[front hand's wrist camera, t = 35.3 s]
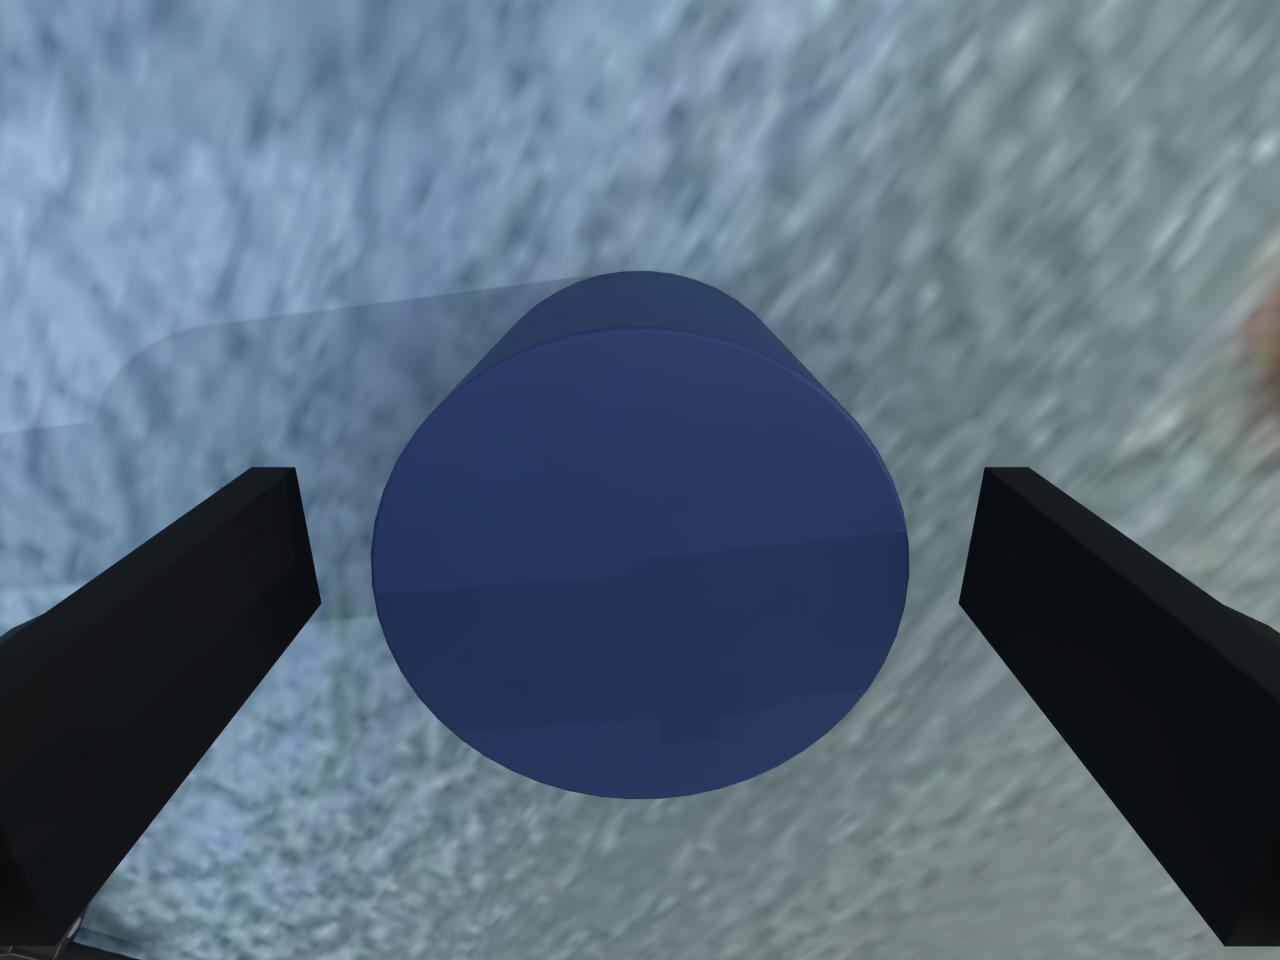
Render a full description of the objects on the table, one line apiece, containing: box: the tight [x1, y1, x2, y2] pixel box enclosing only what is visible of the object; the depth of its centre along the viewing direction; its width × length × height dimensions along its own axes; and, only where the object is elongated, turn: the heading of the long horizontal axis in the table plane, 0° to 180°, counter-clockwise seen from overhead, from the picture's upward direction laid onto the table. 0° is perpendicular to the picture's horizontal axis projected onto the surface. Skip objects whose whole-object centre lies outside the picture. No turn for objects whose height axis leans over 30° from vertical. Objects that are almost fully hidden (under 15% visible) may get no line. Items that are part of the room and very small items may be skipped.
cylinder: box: [371, 271, 909, 799], centre depth 14 cm, size 8×8×7 cm
